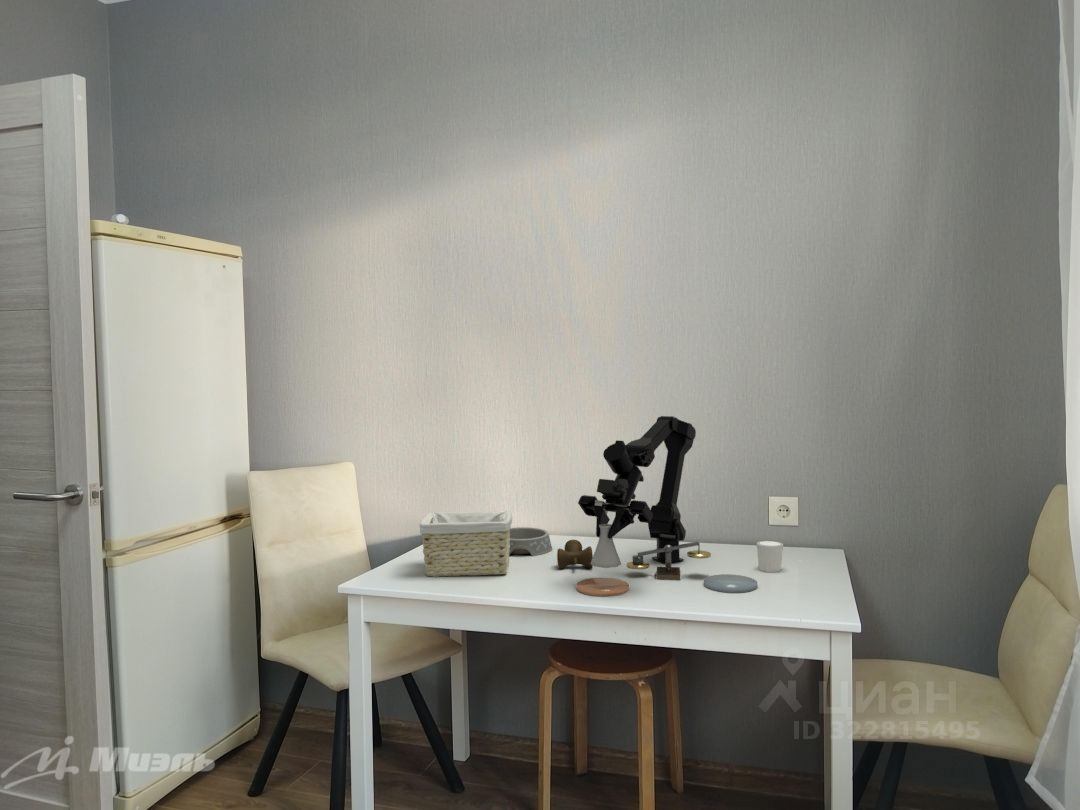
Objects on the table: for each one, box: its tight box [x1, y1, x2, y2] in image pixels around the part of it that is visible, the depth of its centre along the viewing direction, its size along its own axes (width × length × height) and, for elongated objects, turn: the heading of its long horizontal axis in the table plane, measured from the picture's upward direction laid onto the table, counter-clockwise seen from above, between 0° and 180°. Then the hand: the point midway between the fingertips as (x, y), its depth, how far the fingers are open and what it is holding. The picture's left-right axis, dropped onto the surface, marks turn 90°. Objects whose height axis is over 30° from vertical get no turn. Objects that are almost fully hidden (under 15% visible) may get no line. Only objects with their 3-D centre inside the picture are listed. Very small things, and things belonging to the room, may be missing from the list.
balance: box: [626, 541, 712, 581], centre depth 214 cm, size 22×8×9 cm, turn 81°
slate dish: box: [703, 574, 758, 594], centre depth 205 cm, size 13×13×1 cm
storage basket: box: [419, 510, 513, 577], centre depth 223 cm, size 24×16×15 cm
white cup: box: [756, 540, 784, 573], centre depth 219 cm, size 7×7×7 cm
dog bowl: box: [509, 526, 553, 557], centre depth 245 cm, size 17×18×5 cm
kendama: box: [556, 539, 594, 570], centre depth 227 cm, size 6×10×20 cm
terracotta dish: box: [575, 577, 630, 597], centre depth 203 cm, size 13×13×1 cm
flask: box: [590, 523, 622, 569], centre depth 202 cm, size 7×7×10 cm
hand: (603, 537), depth 201 cm, fingers closed on flask, 3 cm apart
